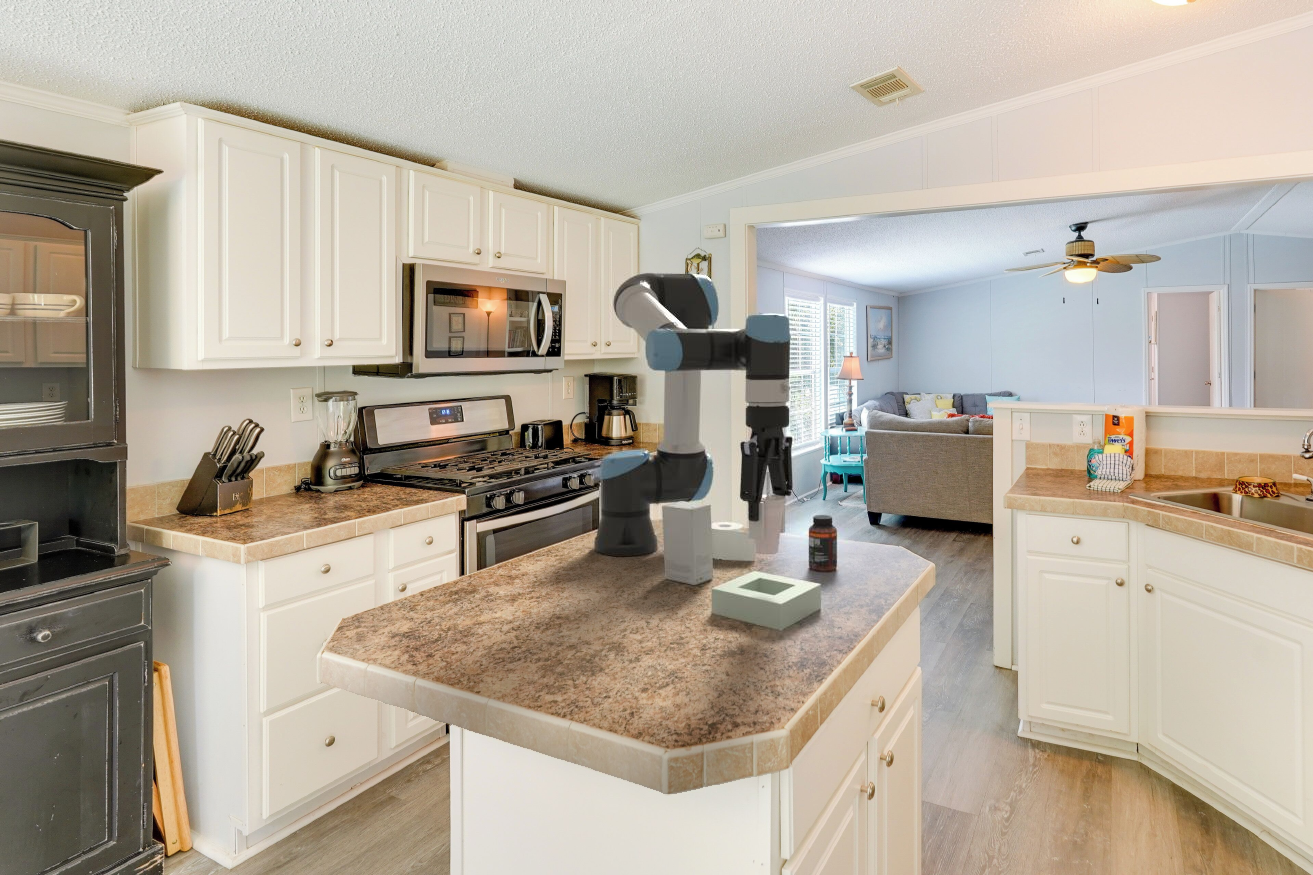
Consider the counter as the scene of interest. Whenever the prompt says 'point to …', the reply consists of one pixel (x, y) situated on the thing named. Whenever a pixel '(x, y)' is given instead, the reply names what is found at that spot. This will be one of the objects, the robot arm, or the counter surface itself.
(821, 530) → the supplement bottle
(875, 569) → the counter surface
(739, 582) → the block
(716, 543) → the toilet paper
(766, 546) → the smoothie
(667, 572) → the skincare box
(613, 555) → the robot arm
